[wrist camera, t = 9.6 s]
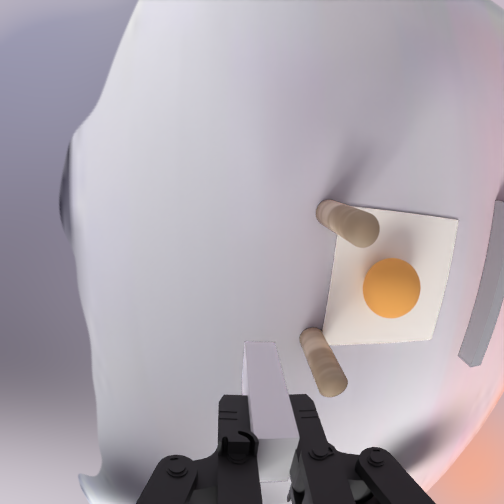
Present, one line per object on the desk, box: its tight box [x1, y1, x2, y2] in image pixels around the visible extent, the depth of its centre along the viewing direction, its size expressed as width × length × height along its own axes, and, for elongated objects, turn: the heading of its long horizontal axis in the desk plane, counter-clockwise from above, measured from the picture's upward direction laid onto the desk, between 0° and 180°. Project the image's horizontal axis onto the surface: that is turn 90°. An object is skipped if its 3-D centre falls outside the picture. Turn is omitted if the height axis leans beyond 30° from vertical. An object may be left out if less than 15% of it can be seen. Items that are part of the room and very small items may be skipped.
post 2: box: [316, 200, 380, 248], centre depth 24 cm, size 2×2×8 cm
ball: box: [363, 258, 421, 318], centre depth 28 cm, size 6×6×6 cm
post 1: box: [300, 327, 348, 397], centre depth 27 cm, size 2×2×8 cm
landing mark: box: [322, 206, 459, 346], centre depth 30 cm, size 14×14×1 cm
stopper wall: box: [458, 200, 504, 367], centre depth 30 cm, size 20×2×3 cm, turn 176°
